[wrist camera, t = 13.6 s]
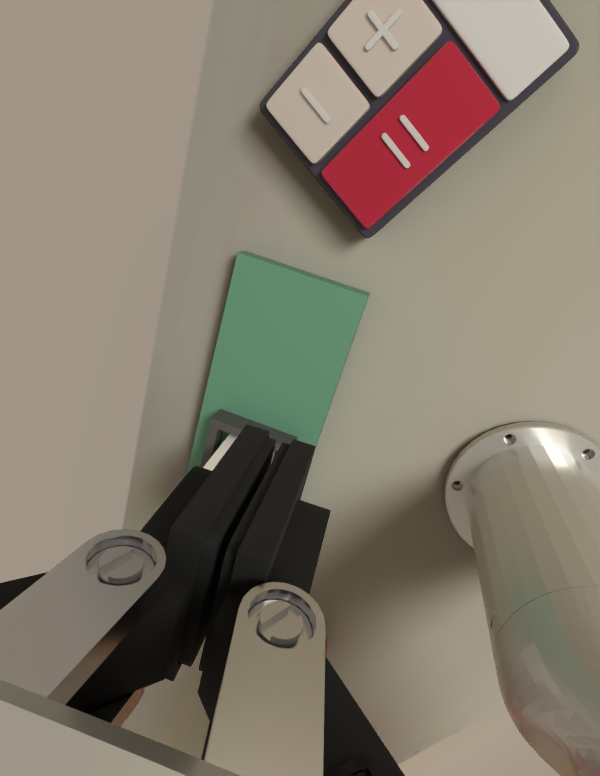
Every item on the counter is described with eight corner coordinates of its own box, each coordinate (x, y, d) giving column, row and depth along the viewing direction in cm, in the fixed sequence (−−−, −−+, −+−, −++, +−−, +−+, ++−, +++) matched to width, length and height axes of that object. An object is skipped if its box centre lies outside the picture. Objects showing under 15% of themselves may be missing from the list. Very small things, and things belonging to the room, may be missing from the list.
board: (244, 250, 37) (228, 254, 34) (369, 293, 36) (365, 301, 33) (189, 483, 45) (172, 504, 42) (289, 521, 45) (279, 546, 41)
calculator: (251, 104, 30) (457, -144, 24) (272, 113, 34) (453, -98, 28) (365, 242, 32) (588, 43, 25) (372, 236, 35) (567, 62, 29)
